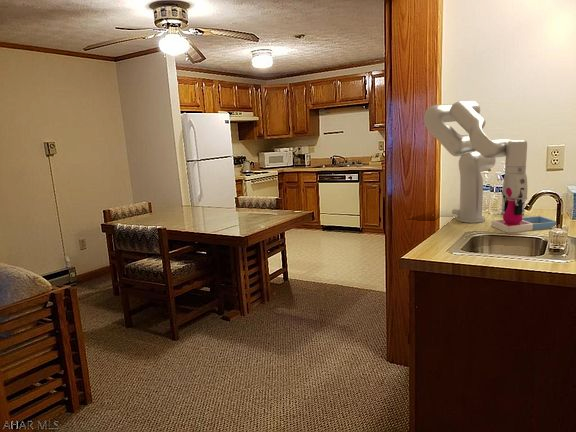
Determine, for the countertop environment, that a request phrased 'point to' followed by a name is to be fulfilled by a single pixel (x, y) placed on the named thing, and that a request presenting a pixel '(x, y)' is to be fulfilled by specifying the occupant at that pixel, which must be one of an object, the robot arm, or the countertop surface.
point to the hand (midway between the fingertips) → (512, 212)
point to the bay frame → (525, 224)
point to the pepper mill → (511, 211)
